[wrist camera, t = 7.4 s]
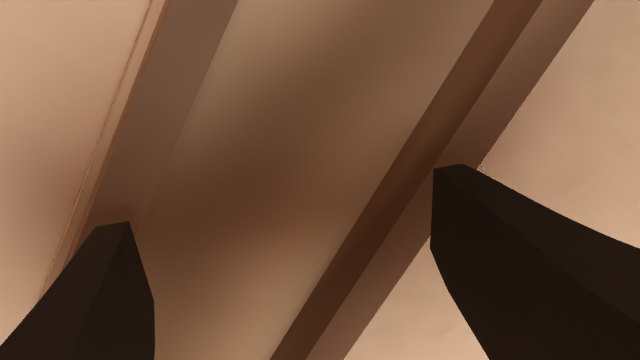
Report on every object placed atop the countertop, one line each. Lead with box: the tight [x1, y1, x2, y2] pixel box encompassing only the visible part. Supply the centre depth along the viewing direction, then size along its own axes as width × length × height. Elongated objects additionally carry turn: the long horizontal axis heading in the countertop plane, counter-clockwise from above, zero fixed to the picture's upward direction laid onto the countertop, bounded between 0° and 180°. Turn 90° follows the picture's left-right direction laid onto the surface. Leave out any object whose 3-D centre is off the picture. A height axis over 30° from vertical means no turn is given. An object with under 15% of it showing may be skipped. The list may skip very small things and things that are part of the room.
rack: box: [39, 0, 594, 360], centre depth 13 cm, size 8×20×2 cm, turn 152°
